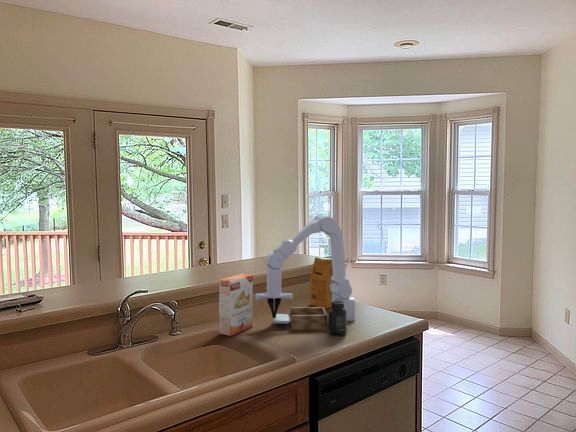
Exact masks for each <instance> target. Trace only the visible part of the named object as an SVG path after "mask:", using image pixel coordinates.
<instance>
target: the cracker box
mask: <svg viewBox="0 0 576 432" xmlns="http://www.w3.org/2000/svg"><path fill="white" fill-rule="evenodd" d="M253 277H254V275H253V274H249V273H248V274H247V273H239V274H236V275H232V276H229V277H224V278H221V279H219V281H218V282H219V283H218V285H219V286H218V291H219V292H218V293H219V294H218V296H219V297H218V299H219V300H218V305H219V309H218V314H219V315H218V317H219V318H218V321H219V322H218V323H219V326H218V327H219V328H218V329H219V331H218V332H219V334H220V335H222V336H227V337H232V336H234V335H236V334H238V333H241V332H244V331H245V330H249V329H250V328H253V297H254V296H253V294H254V293H253V289H254V288H253V287H254V286H253V284H254V281H253V280H254V278H253Z"/></svg>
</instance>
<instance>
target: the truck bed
mask: <svg viewBox="0 0 576 432" xmlns="http://www.w3.org/2000/svg"><path fill="white" fill-rule="evenodd" d="M289 317H290V323H289V324H290V329H291V330H293V331H298V330H299V331H302V330H304V331H306V330H307V331H308V330H311V331H312V330H313V331H314V330H315V331H317V330H328V313H327V310H326V308H324V307H316V306H306V307H304V306H303V307H302V306H301V307H300V306H298V307H296V306H295V307H289Z"/></svg>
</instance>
